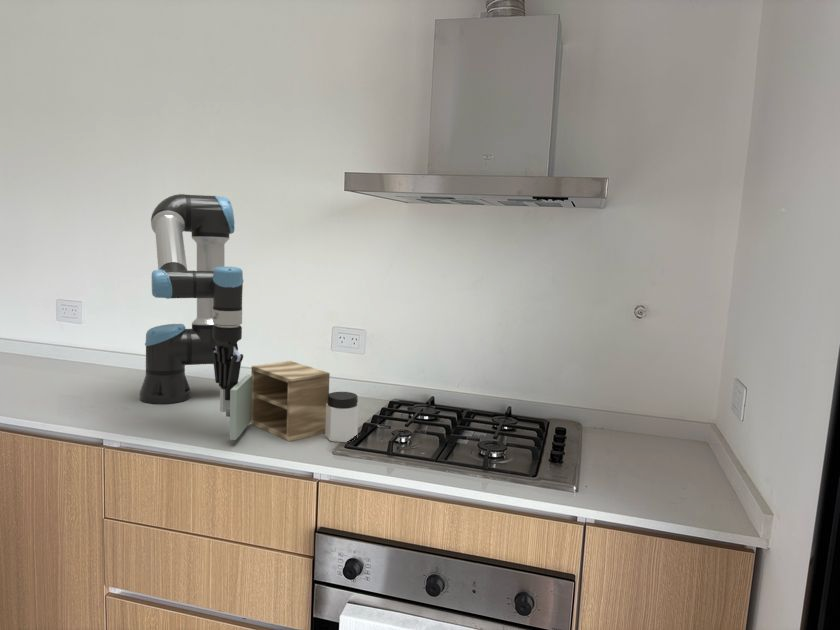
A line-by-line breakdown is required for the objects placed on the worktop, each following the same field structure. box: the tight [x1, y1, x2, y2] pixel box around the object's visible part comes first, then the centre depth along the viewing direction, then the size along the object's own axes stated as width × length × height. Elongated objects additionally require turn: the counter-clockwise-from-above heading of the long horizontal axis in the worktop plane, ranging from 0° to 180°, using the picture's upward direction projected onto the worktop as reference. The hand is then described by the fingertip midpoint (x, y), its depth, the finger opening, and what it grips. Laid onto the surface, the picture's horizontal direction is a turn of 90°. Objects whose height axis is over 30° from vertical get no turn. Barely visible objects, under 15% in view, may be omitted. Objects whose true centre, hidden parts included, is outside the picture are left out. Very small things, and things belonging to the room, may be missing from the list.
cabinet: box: [250, 360, 331, 442], centre depth 188 cm, size 19×13×17 cm
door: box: [225, 374, 252, 441], centre depth 180 cm, size 18×3×13 cm, turn 1°
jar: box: [324, 391, 359, 443], centre depth 183 cm, size 9×8×12 cm
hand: (225, 410), depth 181 cm, fingers closed
